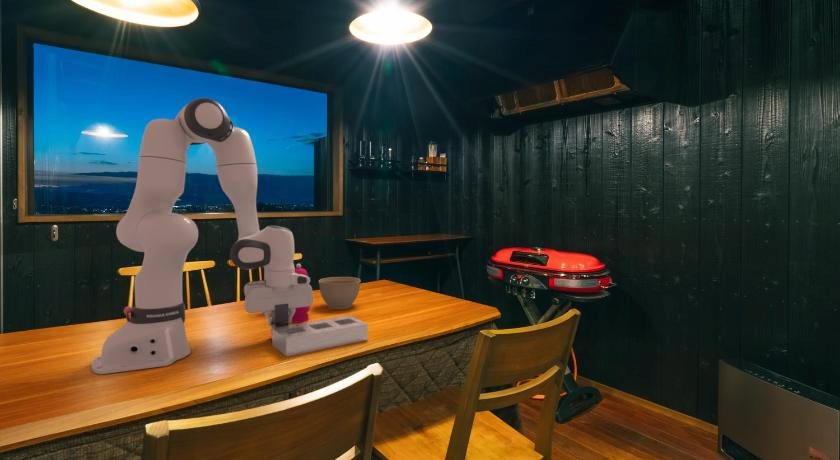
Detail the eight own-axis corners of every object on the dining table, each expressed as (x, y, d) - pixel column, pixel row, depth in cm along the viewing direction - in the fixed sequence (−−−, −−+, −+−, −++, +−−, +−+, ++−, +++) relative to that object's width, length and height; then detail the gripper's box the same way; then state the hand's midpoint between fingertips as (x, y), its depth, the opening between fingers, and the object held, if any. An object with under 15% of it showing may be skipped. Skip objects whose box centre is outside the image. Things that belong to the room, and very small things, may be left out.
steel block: (275, 338, 136) (275, 305, 136) (271, 334, 139) (271, 302, 139) (288, 336, 138) (288, 303, 138) (284, 332, 142) (284, 301, 141)
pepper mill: (304, 323, 156) (303, 265, 154) (285, 322, 157) (283, 264, 156) (313, 317, 163) (312, 262, 161) (294, 316, 164) (293, 262, 163)
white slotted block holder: (286, 356, 123) (286, 338, 122) (272, 344, 132) (272, 328, 132) (367, 340, 137) (367, 323, 137) (349, 330, 147) (349, 315, 147)
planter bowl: (357, 312, 171) (357, 283, 170) (314, 312, 171) (314, 283, 170) (363, 302, 187) (363, 276, 186) (324, 302, 187) (323, 276, 186)
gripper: (246, 283, 129) (247, 331, 130) (315, 277, 141) (315, 321, 142) (241, 280, 135) (242, 326, 135) (307, 274, 146) (308, 317, 147)
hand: (279, 323), depth 139 cm, fingers closed on steel block, 4 cm apart
